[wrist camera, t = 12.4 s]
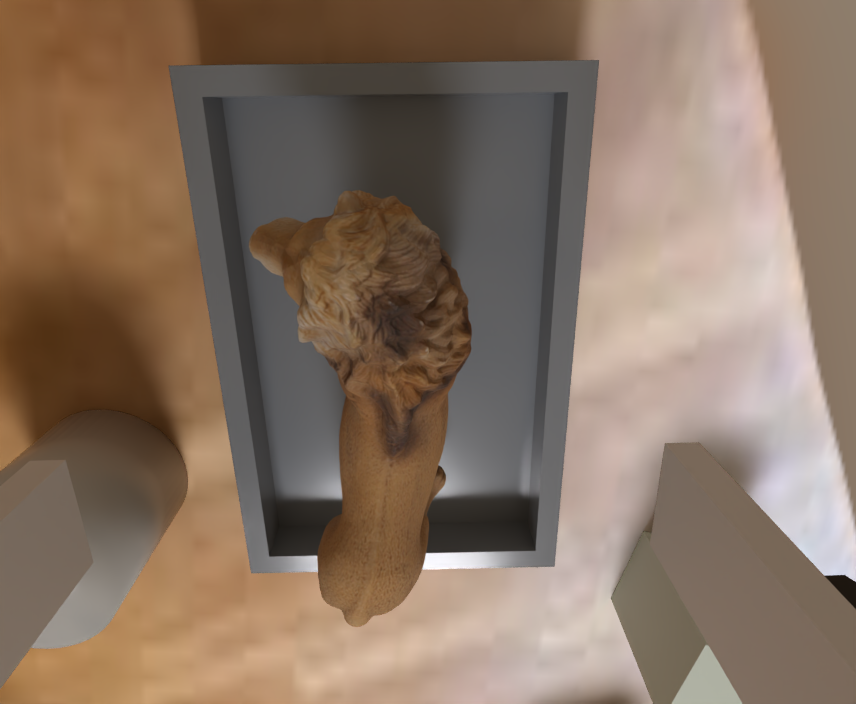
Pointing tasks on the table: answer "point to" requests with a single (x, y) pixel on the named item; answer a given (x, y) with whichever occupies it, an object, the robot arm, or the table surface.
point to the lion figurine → (376, 381)
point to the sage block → (666, 636)
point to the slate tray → (459, 236)
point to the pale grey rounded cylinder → (109, 509)
